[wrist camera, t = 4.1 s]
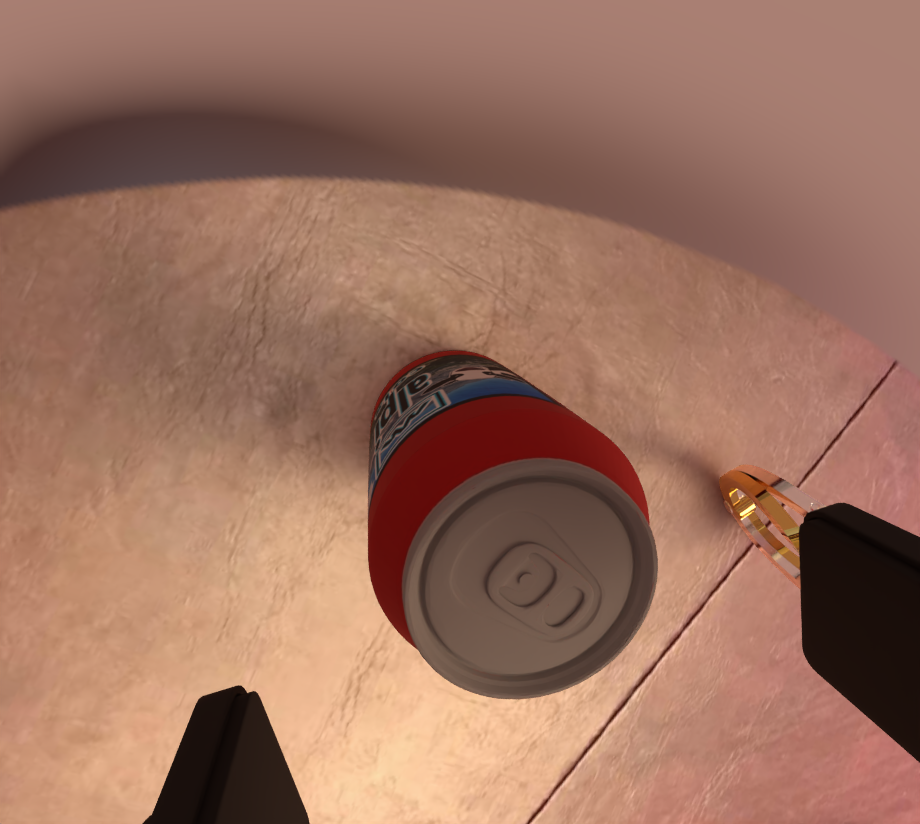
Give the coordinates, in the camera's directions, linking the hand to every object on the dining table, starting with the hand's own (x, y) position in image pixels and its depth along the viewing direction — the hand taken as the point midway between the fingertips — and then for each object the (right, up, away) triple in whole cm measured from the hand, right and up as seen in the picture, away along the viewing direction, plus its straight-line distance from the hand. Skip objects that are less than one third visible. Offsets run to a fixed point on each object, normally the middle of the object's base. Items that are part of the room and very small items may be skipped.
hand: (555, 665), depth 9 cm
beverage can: (-2, +4, +14) cm, 14 cm away
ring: (+12, 0, +17) cm, 20 cm away
